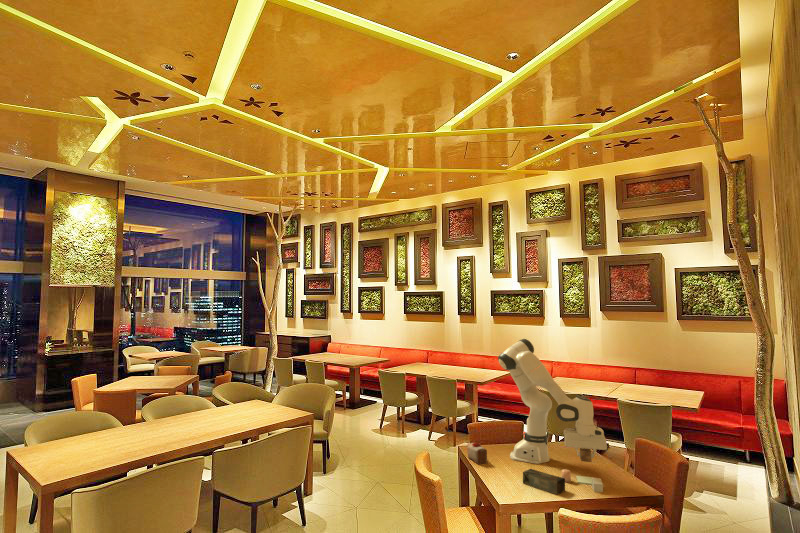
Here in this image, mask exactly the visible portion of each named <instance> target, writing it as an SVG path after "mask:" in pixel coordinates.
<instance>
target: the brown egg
mask: <svg viewBox="0 0 800 533" xmlns="http://www.w3.org/2000/svg"><path fill="white" fill-rule="evenodd" d="M571 474H572V472H571V470H570V469H566V468H563V469H561V477H562V478H565V484H566V483H569V484H570V483H571V481H572V478H571V476H572V475H571Z"/></svg>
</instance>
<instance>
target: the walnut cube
mask: <svg viewBox="0 0 800 533" xmlns="http://www.w3.org/2000/svg"><path fill="white" fill-rule="evenodd" d="M579 452H580V453H581V457H580V461H581V462H585V463H587V462H588V463H593V462H592V458H591V453H592V449H587V448H579Z"/></svg>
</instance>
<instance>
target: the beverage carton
mask: <svg viewBox="0 0 800 533" xmlns="http://www.w3.org/2000/svg"><path fill="white" fill-rule="evenodd" d="M522 484H523V485H527V486H530V487H533V488H535V489H539V490H542V491H546V492H548V493H551V494H554V495H560V494H561V493H564V492H565V491H566V482H565V478H562V476H557V475H554V474H550V473H546V472H543V471H540V470H536V469H532V468H529V469H525V470H524V471H522Z"/></svg>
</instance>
